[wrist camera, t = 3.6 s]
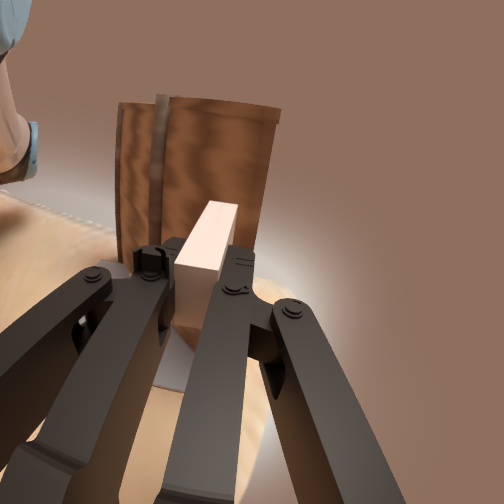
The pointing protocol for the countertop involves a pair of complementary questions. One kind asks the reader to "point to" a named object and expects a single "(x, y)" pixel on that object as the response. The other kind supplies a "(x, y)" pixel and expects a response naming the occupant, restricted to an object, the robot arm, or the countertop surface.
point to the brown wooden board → (215, 168)
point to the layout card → (175, 354)
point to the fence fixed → (140, 174)
